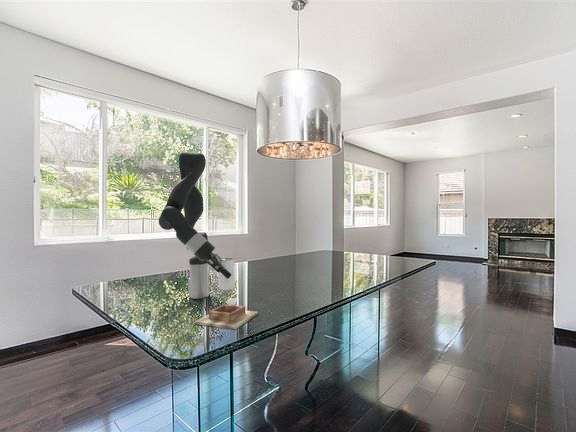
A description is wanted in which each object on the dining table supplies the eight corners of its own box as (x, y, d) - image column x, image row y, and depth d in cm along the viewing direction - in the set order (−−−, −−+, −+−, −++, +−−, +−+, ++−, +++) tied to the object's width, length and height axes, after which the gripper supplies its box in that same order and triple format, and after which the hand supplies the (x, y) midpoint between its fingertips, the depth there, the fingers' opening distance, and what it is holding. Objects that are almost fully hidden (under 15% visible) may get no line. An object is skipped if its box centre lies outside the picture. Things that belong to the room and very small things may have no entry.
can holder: (194, 324, 118) (194, 313, 118) (221, 310, 134) (221, 301, 134) (235, 329, 111) (235, 318, 111) (257, 314, 128) (257, 304, 128)
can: (219, 287, 126) (219, 258, 126) (235, 286, 126) (235, 257, 126) (217, 291, 119) (216, 260, 119) (234, 290, 120) (233, 259, 120)
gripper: (203, 241, 115) (236, 271, 116) (209, 238, 129) (238, 265, 130) (189, 256, 114) (222, 286, 115) (197, 251, 128) (226, 278, 130)
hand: (230, 275), depth 123 cm, fingers closed on can, 6 cm apart
